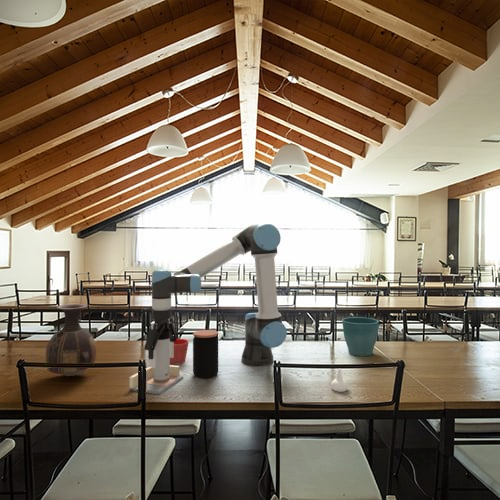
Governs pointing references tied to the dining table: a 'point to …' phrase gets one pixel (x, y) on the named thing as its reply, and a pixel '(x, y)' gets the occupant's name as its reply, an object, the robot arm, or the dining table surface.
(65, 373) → the vase
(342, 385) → the garlic bulb
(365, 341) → the flower pot
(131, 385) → the tray
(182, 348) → the flower pot
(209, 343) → the coffee jar
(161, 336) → the travel mug
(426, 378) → the dining table surface
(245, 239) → the robot arm
